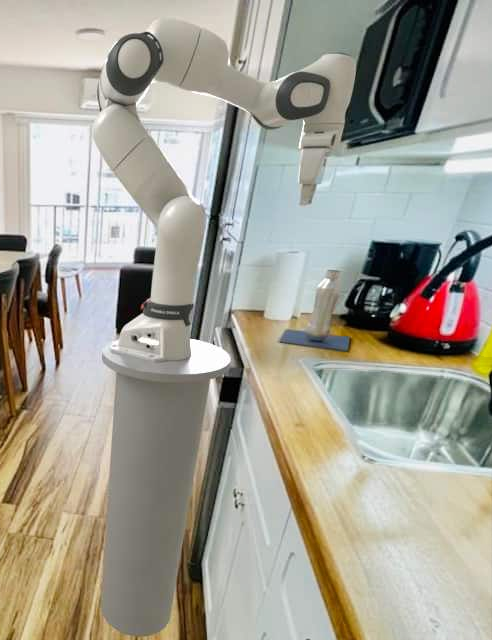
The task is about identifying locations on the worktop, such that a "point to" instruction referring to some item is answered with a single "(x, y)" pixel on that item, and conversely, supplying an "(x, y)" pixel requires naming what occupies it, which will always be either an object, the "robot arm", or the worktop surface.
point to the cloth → (328, 343)
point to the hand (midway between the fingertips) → (305, 204)
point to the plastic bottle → (324, 306)
